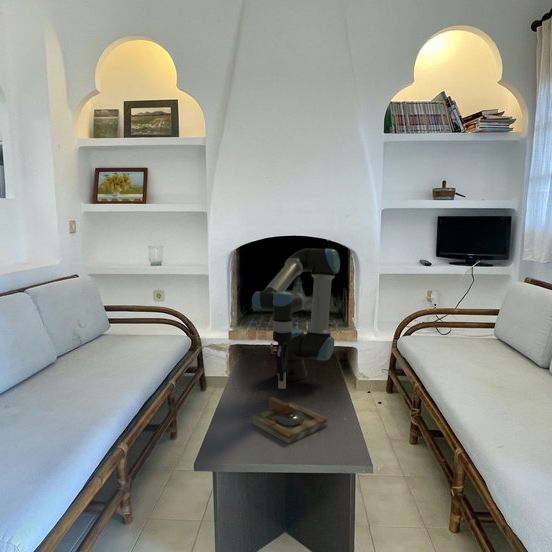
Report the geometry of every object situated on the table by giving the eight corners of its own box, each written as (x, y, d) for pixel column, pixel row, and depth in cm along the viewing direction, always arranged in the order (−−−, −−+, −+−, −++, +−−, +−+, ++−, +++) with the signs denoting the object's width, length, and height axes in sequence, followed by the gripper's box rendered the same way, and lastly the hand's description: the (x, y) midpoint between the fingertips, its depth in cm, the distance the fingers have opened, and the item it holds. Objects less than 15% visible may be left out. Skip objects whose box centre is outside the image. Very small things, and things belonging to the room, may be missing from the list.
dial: (310, 420, 156) (310, 406, 156) (289, 429, 149) (289, 415, 148) (281, 406, 169) (281, 393, 168) (260, 414, 161) (260, 401, 161)
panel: (291, 408, 171) (291, 401, 171) (327, 425, 156) (327, 418, 156) (252, 423, 158) (252, 415, 158) (288, 443, 143) (288, 435, 143)
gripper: (277, 326, 173) (276, 381, 175) (269, 333, 160) (268, 392, 163) (294, 327, 171) (294, 383, 173) (288, 335, 158) (287, 394, 161)
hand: (281, 387), depth 168 cm, fingers closed
